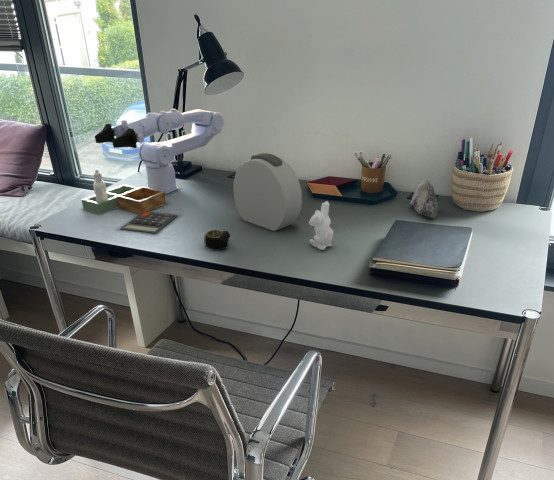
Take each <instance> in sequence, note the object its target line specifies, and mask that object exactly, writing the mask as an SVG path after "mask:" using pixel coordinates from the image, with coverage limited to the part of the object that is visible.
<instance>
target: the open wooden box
mask: <svg viewBox="0 0 554 480" xmlns="http://www.w3.org/2000/svg"><path fill="white" fill-rule="evenodd" d="M117 197H118V203H119V207H118V208H119V209H121V210H125V211H128V212H131V213H135V214H138V215H139V214H141V213H144V212H146V211H147V212H152V211H153V210H155V209H157V208H160V207H162V206H164V205H165V206H166V205H167V198H166V194H165V192H164V191H160V190H156V189H152V188H148V186H143V185H142V186H140V187H138V188H137V189H134V190H132V191H129V192H126V193H124V194H121V195H119V196H117Z"/></svg>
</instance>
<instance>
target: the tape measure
mask: <svg viewBox="0 0 554 480" xmlns="http://www.w3.org/2000/svg"><path fill="white" fill-rule="evenodd" d="M230 238H231V233H230V232H229V230H221V229H213V230H208V231H207V232H206V233H204V236H203V241H204V245H205V247H207V248H209V249H211V250H220V249H221V250H222V249H226V248H228V246H229V240H230Z"/></svg>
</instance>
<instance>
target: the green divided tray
mask: <svg viewBox="0 0 554 480" xmlns="http://www.w3.org/2000/svg"><path fill="white" fill-rule="evenodd" d="M137 188H139V187H137V186H133V185H129V184H125V183H123V184H121V185H117V186H115V187H112V188H109V189H106V190H107V196H108V199H107V200H104V201H101V202H96V197H95V194H93V195H91V196H88V197H85V198H82V199H81V204H82V208H83V210H84V211H88V212H91V213H95V214H99V215H102V214H104V213H107V212H110V211H111V210H115V209H117V208H119V203H118V197H117V196H119V195H121V194H124V193H126V192H129V191H132V190H134V189H137Z"/></svg>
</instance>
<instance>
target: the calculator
mask: <svg viewBox="0 0 554 480" xmlns="http://www.w3.org/2000/svg"><path fill="white" fill-rule="evenodd" d="M176 218H178V214H174V213H173V214H171V213H164V212H155V211H148V212H147V211H146V212H144V213H141V214H139V213H138V215H136V216H135V217H133V218H132V219H131V220H130V221H128V222H126V223H125V224H124V225H122V226H121V227H120V228H119V230H121V231H128V232H136V233H144V234H152V235H156V234H158V232H160V231H161V230H163V229H164V228H165V227H167V226H168V225H169V224H170V223H171V222H173V221H174V220H176Z"/></svg>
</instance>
